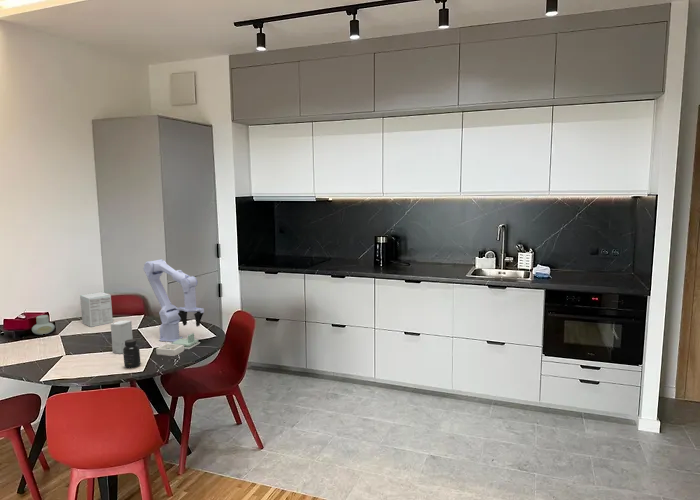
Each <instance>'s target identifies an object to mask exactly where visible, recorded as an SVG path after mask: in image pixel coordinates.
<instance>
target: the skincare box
mask: <svg viewBox="0 0 700 500" xmlns="http://www.w3.org/2000/svg"><path fill="white" fill-rule="evenodd" d="M132 326H133V324H132V320H123V319H122V320H118V321H116V322H113V323H110V332H111V348H112V349H111V350H112V353H113V354H119V355H123V348H124V347H125V341H126V340H130V339H134V337H133V327H132Z"/></svg>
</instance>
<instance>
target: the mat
mask: <svg viewBox="0 0 700 500" xmlns="http://www.w3.org/2000/svg"><path fill="white" fill-rule="evenodd" d="M199 344H201V342H200V341H198V342H196V343H195V344H193V345H191V346H189V347H184V350H190V349H192V348H194V347H196V346H197V345H199Z"/></svg>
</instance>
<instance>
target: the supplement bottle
mask: <svg viewBox="0 0 700 500" xmlns="http://www.w3.org/2000/svg"><path fill="white" fill-rule="evenodd" d="M122 355H123V365H124V368H126V369H135V368H138V367H140V365H141V352H140V346H139V345H138V343H137V339H134V338H133V339H130V340H126V341H125V347H124V348H123V354H122Z"/></svg>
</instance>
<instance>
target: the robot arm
mask: <svg viewBox="0 0 700 500" xmlns="http://www.w3.org/2000/svg"><path fill="white" fill-rule="evenodd" d="M143 265H144V266H143V271H144V273H145V276H146V278H147V280H148V283H149V285H150V286H151V287H150V288H151V289H152V291H153V294H154V295H155V297H156V299H157V302H158V303H159V304H158V305H160V308H161V309H160V310H159V312H158V314H159V317H160V321H161V324H160V326H159V339H158V341H160V342H170V343H173V342H175V341H177V340H179V339H181V338H182V339H184V337H183V336H181V335H180V322H182V324H183V326H187V325H188V321H187V320H188V313H193V316H194V318H195V325H196V327H200V325H201V320H202V317H203V315H204V313H205V308H204V307H202V308H201V307H197V294H196V287H197V286H198V279H197V277H195V276H194V275H191V276H190V275H189V274H187V273H185V272H183V270H182V269H177V270H176V269H175V268H173V267H172V266H170V265H169V264H168V263H167V261H166V260H164V259H162V258H160V259H156V260H148V261H145V263H144V264H143ZM163 273H165V274H167V275H168V276H170V277H171V278H172V280H173V281H175V282H176V283H178V284H179V285H181V286H180V287H181V288H182V292H183V298H184V299H183V301H184V306H179V307H178V306H176V305H174V304H172V302H171V300H170V298H169V296H168V294H167V292H166V290H165V287H164V285H163V283H162V281H161V279H160V278H161V277H162V276H163Z"/></svg>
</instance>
